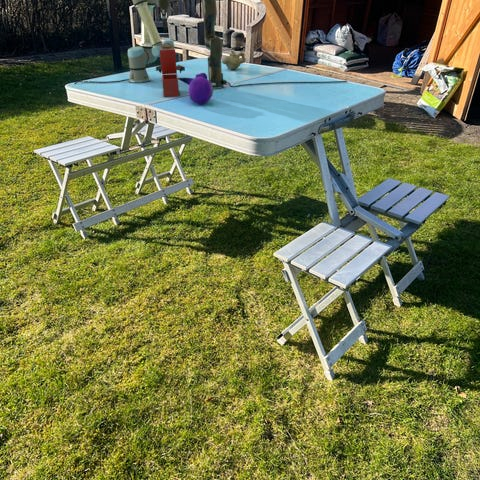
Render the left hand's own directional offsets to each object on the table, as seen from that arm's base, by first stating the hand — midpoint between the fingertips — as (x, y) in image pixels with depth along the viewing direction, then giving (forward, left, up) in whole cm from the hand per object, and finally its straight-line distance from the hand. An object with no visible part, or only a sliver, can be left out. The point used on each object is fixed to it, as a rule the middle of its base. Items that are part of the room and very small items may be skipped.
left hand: (170, 71), depth 311 cm
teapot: (+61, +52, -11) cm, 81 cm away
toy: (+8, -47, -11) cm, 49 cm away
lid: (-3, -15, +8) cm, 17 cm away
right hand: (-4, -20, +29) cm, 35 cm away
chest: (-4, -19, -11) cm, 22 cm away
